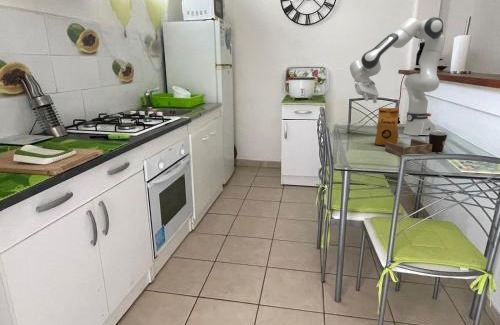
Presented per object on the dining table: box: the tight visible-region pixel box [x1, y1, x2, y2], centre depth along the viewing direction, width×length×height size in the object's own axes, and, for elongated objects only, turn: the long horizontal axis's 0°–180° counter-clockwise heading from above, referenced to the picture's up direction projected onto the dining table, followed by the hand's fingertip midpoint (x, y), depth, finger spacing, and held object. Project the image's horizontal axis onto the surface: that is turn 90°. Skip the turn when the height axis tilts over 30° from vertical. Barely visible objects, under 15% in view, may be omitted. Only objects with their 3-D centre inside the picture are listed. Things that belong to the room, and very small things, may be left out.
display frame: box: [384, 138, 432, 157], centre depth 179 cm, size 18×14×5 cm
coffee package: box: [374, 107, 399, 146], centre depth 192 cm, size 10×12×22 cm
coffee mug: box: [428, 131, 448, 153], centre depth 178 cm, size 12×9×10 cm
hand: (371, 101), depth 204 cm, fingers open, 8 cm apart
